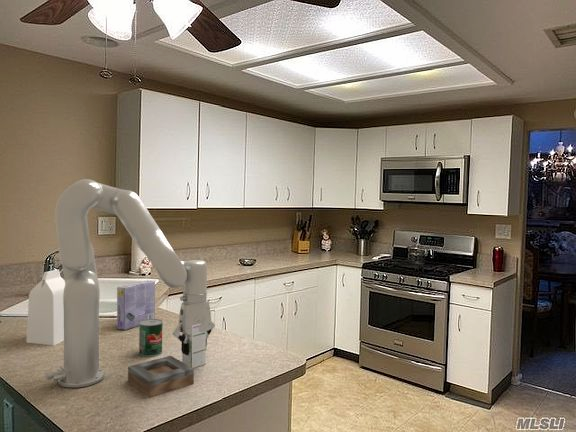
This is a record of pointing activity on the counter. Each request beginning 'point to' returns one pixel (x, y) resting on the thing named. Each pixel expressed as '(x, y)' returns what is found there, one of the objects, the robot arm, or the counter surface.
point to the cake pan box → (135, 304)
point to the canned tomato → (150, 337)
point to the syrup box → (196, 348)
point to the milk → (46, 310)
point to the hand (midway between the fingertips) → (194, 351)
